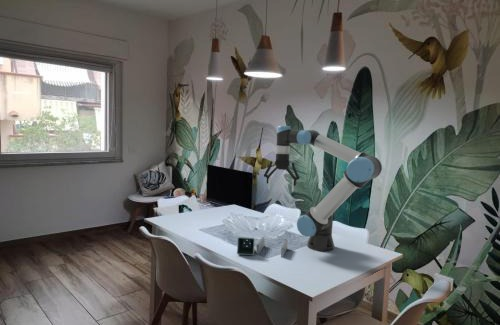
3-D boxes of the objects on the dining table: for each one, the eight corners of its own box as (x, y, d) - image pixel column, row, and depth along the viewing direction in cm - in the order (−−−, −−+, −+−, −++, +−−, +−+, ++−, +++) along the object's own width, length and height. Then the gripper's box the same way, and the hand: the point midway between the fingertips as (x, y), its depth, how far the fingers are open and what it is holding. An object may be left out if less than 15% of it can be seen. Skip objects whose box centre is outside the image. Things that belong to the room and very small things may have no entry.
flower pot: (254, 252, 196) (253, 255, 187) (238, 251, 196) (236, 254, 187) (255, 235, 196) (254, 238, 187) (239, 234, 197) (237, 237, 188)
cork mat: (257, 249, 199) (257, 248, 198) (253, 254, 190) (253, 253, 190) (241, 247, 201) (241, 246, 201) (236, 252, 192) (237, 251, 192)
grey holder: (287, 248, 201) (287, 240, 200) (283, 257, 187) (283, 248, 187) (262, 245, 204) (262, 237, 204) (256, 254, 191) (256, 244, 190)
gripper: (305, 154, 203) (303, 191, 205) (262, 151, 209) (260, 187, 211) (304, 155, 196) (302, 193, 198) (259, 152, 202) (258, 189, 204)
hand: (280, 190), depth 205 cm, fingers open, 13 cm apart
